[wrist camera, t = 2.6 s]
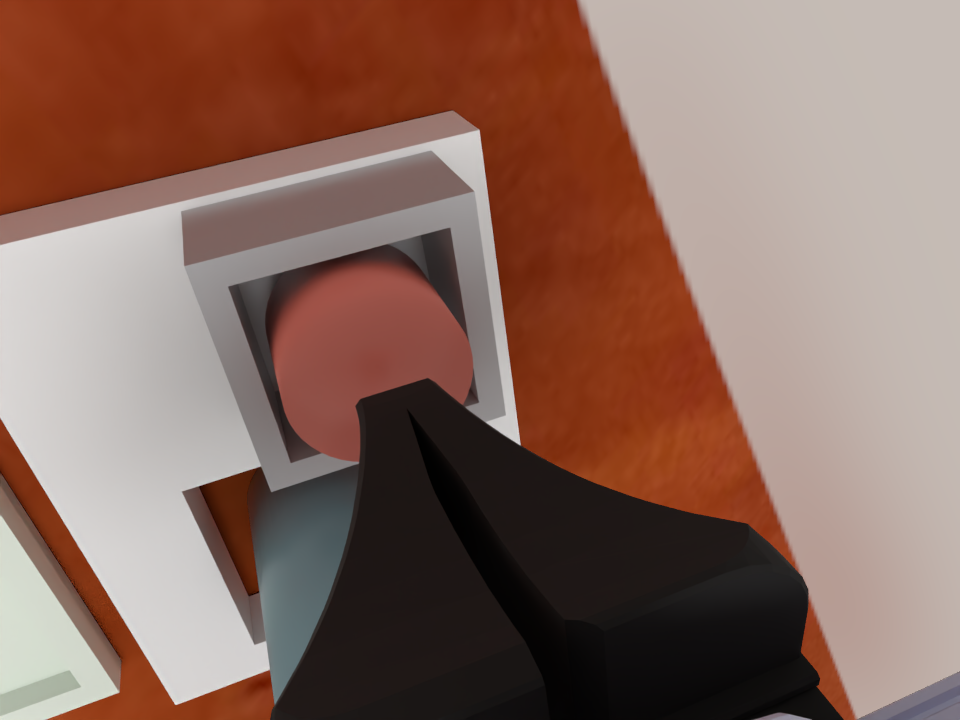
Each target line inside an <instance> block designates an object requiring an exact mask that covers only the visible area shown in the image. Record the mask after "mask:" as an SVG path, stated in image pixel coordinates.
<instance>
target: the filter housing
mask: <svg viewBox="0 0 960 720" xmlns="http://www.w3.org/2000/svg"><path fill="white" fill-rule="evenodd" d="M386 244H388V245H391V246H393V247H395V248H397V249H399V250H400V251H402V252H403V253H405V254H406V255H408V256H409V257H410V258H411V259H412V260H413V261H415V263H416V264H417V265H418V266H419V267H420V268H421V270H422V271H423V273H424V274H425V276H426V277H427V278H428V280H429V281H430V283H431V284H432V286H433V287H434V289H435V290H436V291H437V293H438V294H439V296H440V297H441V299H442V300H443V302H444V303H445V304H446V306H447V307H448V309H449V310H450V312H451V313H452V315H453V316H454V317H455V319H456V320H457V322H458V323H459V325H460V326H461V328H462V329H463V331H464V333H465V334H466V336H467V339H468V341H469V344H470V347H471V351H472V356H473V377H472V382H471V386H470V389H469V392H468V395H467V398H466V400H465V402H464V404H463V406H464V407H466V408H467V409H468V410H469V411H471V412H472V413H473V414H475V415H476V416H477V417H479V418H480V419H482V420H483V421H484V422H486V423H487V424H489V425H490V426H492V427H493V428H495V429H496V430H497V431H499V432H500V433H502V434H503V435H505V436H506V437H508V438H509V439H511V440H513V441H514V442H516V443H517V444H519V445H521V444H520V437H519V429H518V422H517V414H516V406H515V399H514V391H513V383H512V376H511V368H510V360H509V353H508V345H507V337H506V330H505V322H504V314H503V307H502V299H501V291H500V284H499V276H498V268H497V261H496V253H495V245H494V238H493V230H492V222H491V215H490V207H489V199H488V192H487V184H486V176H485V169H484V161H483V154H482V146H481V138H480V131H479V129H477V128H476V127H475V126H473V125H472V124H471V123H469V122H468V121H467V120H465V119H464V118H463V117H461V116H460V115H459V114H457V113H456V112H454V111H453V110H452V111H448V112H443V113H439V114H435V115H431V116H426V117H422V118H418V119H413V120H409V121H405V122H400V123H396V124H392V125H388V126H383V127H379V128H375V129H370V130H366V131H362V132H358V133H353V134H349V135H345V136H340V137H336V138H332V139H327V140H323V141H319V142H315V143H310V144H306V145H302V146H297V147H293V148H289V149H284V150H280V151H276V152H272V153H267V154H263V155H259V156H254V157H250V158H246V159H241V160H237V161H233V162H229V163H224V164H220V165H216V166H211V167H207V168H203V169H199V170H194V171H190V172H186V173H181V174H177V175H173V176H168V177H164V178H160V179H156V180H151V181H147V182H143V183H138V184H134V185H130V186H125V187H121V188H117V189H113V190H108V191H104V192H100V193H95V194H91V195H87V196H82V197H78V198H74V199H70V200H65V201H61V202H57V203H52V204H48V205H44V206H40V207H35V208H31V209H27V210H22V211H18V212H14V213H9V214H5V215H1V216H0V418H1V420H2V422H3V423H4V425H5V427H6V428H7V430H8V432H9V433H10V435H11V436H12V438H13V440H14V441H15V443H16V445H17V446H18V448H19V450H20V451H21V453H22V454H23V456H24V458H25V459H26V461H27V463H28V464H29V466H30V468H31V469H32V471H33V472H34V474H35V476H36V477H37V479H38V481H39V482H40V484H41V486H42V487H43V489H44V490H45V492H46V494H47V495H48V497H49V499H50V500H51V502H52V504H53V505H54V507H55V509H56V510H57V512H58V513H59V515H60V517H61V518H62V520H63V522H64V523H65V525H66V527H67V528H68V530H69V531H70V533H71V535H72V536H73V538H74V540H75V541H76V543H77V545H78V546H79V548H80V549H81V551H82V553H83V554H84V556H85V558H86V559H87V561H88V563H89V564H90V566H91V567H92V569H93V571H94V572H95V574H96V576H97V577H98V579H99V581H100V582H101V584H102V586H103V587H104V589H105V590H106V592H107V594H108V595H109V597H110V599H111V600H112V602H113V604H114V605H115V607H116V608H117V610H118V612H119V613H120V615H121V617H122V618H123V620H124V622H125V623H126V625H127V626H128V628H129V630H130V631H131V633H132V635H133V636H134V638H135V640H136V641H137V643H138V644H139V646H140V648H141V649H142V651H143V653H144V654H145V656H146V658H147V659H148V661H149V662H150V664H151V666H152V667H153V669H154V671H155V672H156V674H157V676H158V677H159V679H160V681H161V682H162V684H163V685H164V687H165V689H166V690H167V692H168V694H169V695H170V697H171V699H172V700H173V702H174V703H175V705H177V704H180V703H183V702H185V701H188V700H191V699H193V698H196V697H199V696H201V695H204V694H207V693H209V692H212V691H215V690H217V689H220V688H222V687H225V686H228V685H230V684H233V683H236V682H238V681H241V680H244V679H246V678H249V677H252V676H254V675H257V674H260V673H262V672H265V671H267V670H270V666H269V659H268V651H267V644H266V637H265V629H264V622H263V615H262V607H261V600H260V593H257V594H254V595H251V596H248V594H247V592H246V589H245V587H244V585H243V583H242V581H241V578H240V576H239V574H238V572H237V570H236V567H235V565H234V563H233V561H232V559H231V556H230V554H229V552H228V550H227V548H226V546H225V543H224V541H223V539H222V537H221V535H220V532H219V530H218V528H217V526H216V524H215V521H214V519H213V517H212V515H211V513H210V510H209V508H208V506H207V504H206V502H205V499H204V497H203V495H202V493H201V491H200V488H199V486H201V485H204V484H207V483H210V482H213V481H217V480H220V479H223V478H226V477H229V476H232V475H235V474H238V473H242V472H245V471H248V470H251V469H254V468H257V467H260V466H261V467H262V470H263V472H264V475H265V477H266V480H267V483H268V485H269V488H270V490H271V492H273V491H276V490H279V489H282V488H286V487H289V486H292V485H295V484H298V483H301V482H304V481H307V480H310V479H313V478H316V477H319V476H322V475H325V474H328V473H331V472H334V471H337V470H340V469H343V468H347V467H350V466H353V465H356V464H359V462H352V461H346V460H340V459H337V458H333V457H330V456H328V455H326V454H323V453H321V452H319V451H317V450H316V449H314V448H312V447H311V446H309V445H308V444H307V443H306V442H305V441H303V440H302V439H301V438H300V437H299V435H298V434H297V433H296V432H295V431H294V429H293V428H292V426H291V425H290V423H289V421H288V419H287V417H286V414H285V412H284V408H283V404H282V400H281V396H280V391H279V387H278V383H277V378H276V374H275V370H274V366H273V361H272V357H271V353H270V348H269V344H268V340H267V336H266V329H265V313H266V308H267V303H268V300H269V297H270V294H271V292H272V290H273V288H274V286H275V284H276V282H277V281H278V279H279V278H280V277H281V275H282V274H283V273H284V272H285V271H288V270H292V269H296V268H300V267H303V266H307V265H311V264H315V263H318V262H322V261H326V260H330V259H333V258H337V257H341V256H344V255H348V254H352V253H356V252H359V251H363V250H367V249H371V248H374V247H378V246H382V245H386Z"/></svg>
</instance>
